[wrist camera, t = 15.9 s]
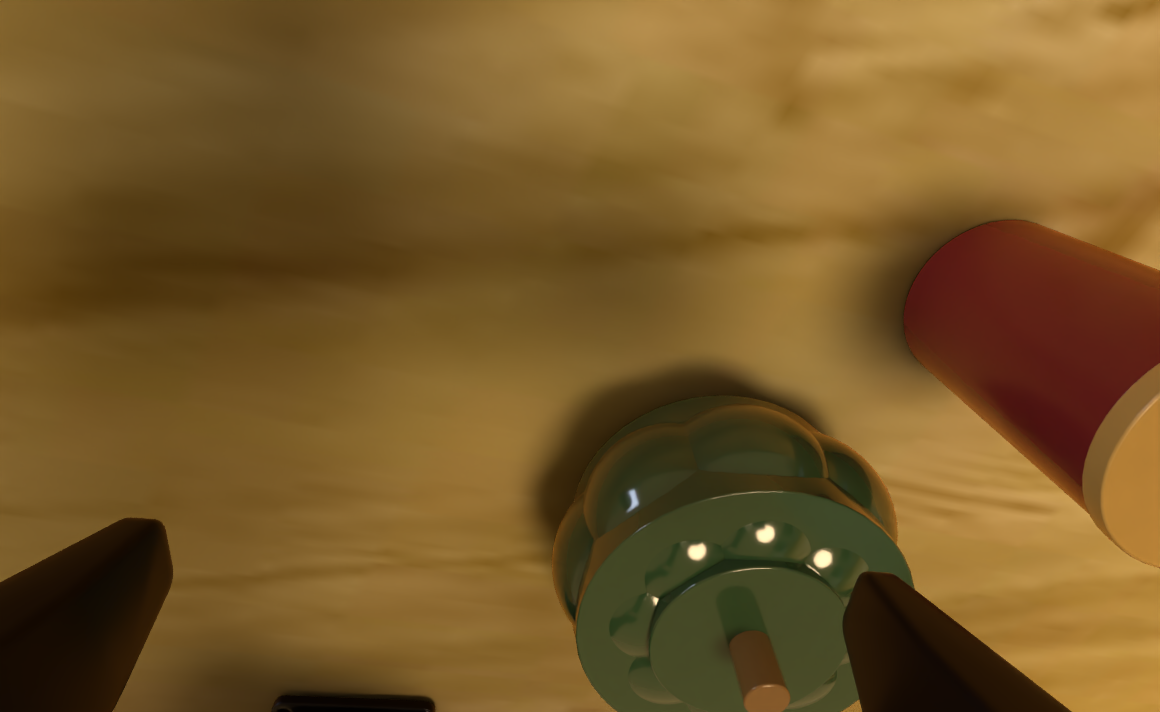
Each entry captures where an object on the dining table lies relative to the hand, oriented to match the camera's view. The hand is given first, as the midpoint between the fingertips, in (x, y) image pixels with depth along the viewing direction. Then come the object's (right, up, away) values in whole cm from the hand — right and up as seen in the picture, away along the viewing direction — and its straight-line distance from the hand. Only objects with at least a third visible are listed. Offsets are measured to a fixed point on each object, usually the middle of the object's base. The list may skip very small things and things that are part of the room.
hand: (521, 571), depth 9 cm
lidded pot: (+5, -3, +16) cm, 17 cm away
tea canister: (+14, +4, +13) cm, 19 cm away
